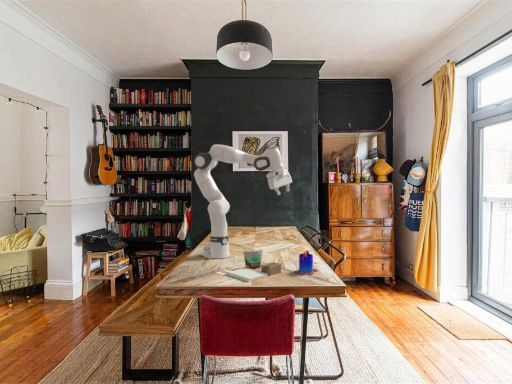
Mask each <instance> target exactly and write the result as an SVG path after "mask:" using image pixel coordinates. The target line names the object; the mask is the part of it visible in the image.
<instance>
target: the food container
mask: <svg viewBox="0 0 512 384" xmlns="http://www.w3.org/2000/svg"><path fill="white" fill-rule="evenodd" d="M263 254H264V253H263V249H260V250H251V251H245V250H244V251H243V253H242V255H243V256H244V263H245V265H244V267H246V268H250V269H253V270H256V268H257V269H260V268H261V265H262V255H263Z"/></svg>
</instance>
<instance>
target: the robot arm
mask: <svg viewBox="0 0 512 384" xmlns="http://www.w3.org/2000/svg"><path fill="white" fill-rule="evenodd" d="M219 162H222V163H227V164H241V163H244V164H245V163H246V164H252V165H253V167H254V169H255V170H256V171H257V172H258V171H259V172H265V171H269V172H268V173H267V174H265V175H266V178H267V183H268V187H269V189H270V190H274V191H275V192H276V194H277V196H281V191H280V190H279V188H281V187H283V186H285V188H286V189H285V192H286V193H288V192H290V184H292V183H293V180H292V176H291V174H290V171H288V170H287V169H285V166H284V164H283V158H282V154H281V153H280V149H279V148H277V147H268V148H266V149H265V151H264V152H263V153H261V154H260V155H255V154H251V153H247V152H245V151H242V150H239V149H237V148H235V147H232V146H230V145H226V144H225V145H224V144H213V145H211V147H210V149H209V151H205V152H201V153H199V154H197V155H196V156H195V157H194V159H193V163H194V166H195V167H196V168H197V169H196V170H195V171H194V172H193V177H194V179H195V183H196V184H197V186H198V188H199V191H200V192H201V194H202V195H203V197H204V198H205V199H206V200H207V202H209V204H208V205H207V212H208V215H209V220H210V226H211V227H210V230H211V232H210V235H209V241H208V242H207V243H206V244H205V245H204V246H203V252H201V253H199V255H200V256H202V257H205V258H206V259H225V258H226V259H227V258H229V257H230V256H231V252H230V245H229V235H228V222H227V217H226V214H228V212H230V207H231V205H230V203H229V201H228V200H227V199H226V197H225V196H224V194H223V193H222V192H221V190H220V189H219V188H218V186H217V184H216V182H215V180H214V178H213V176H212V175H211V172H213V171H214V170H215V168H217V166H218V165H219Z"/></svg>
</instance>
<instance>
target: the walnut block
mask: <svg viewBox="0 0 512 384" xmlns="http://www.w3.org/2000/svg"><path fill="white" fill-rule="evenodd" d="M260 268H261V270H260V271H261V272H264V273H268V277H271V276H274V275H277V274H281V273H282V264H281V263H278V262H274V261H271V262H267V263H263V264H262V263H261V267H260Z"/></svg>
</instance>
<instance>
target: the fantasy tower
mask: <svg viewBox="0 0 512 384" xmlns="http://www.w3.org/2000/svg"><path fill="white" fill-rule="evenodd" d="M313 264H314V256H313V254H311V253H310V252H309V251H308V250H306V251H304V252H303V253H299V255H298V266H299V267H298V269H296V270H294V271H293V273H294V274H302V275H308V276H314V273H315V272H318V271H319V270H318V269H315V268H314V265H313Z"/></svg>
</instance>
